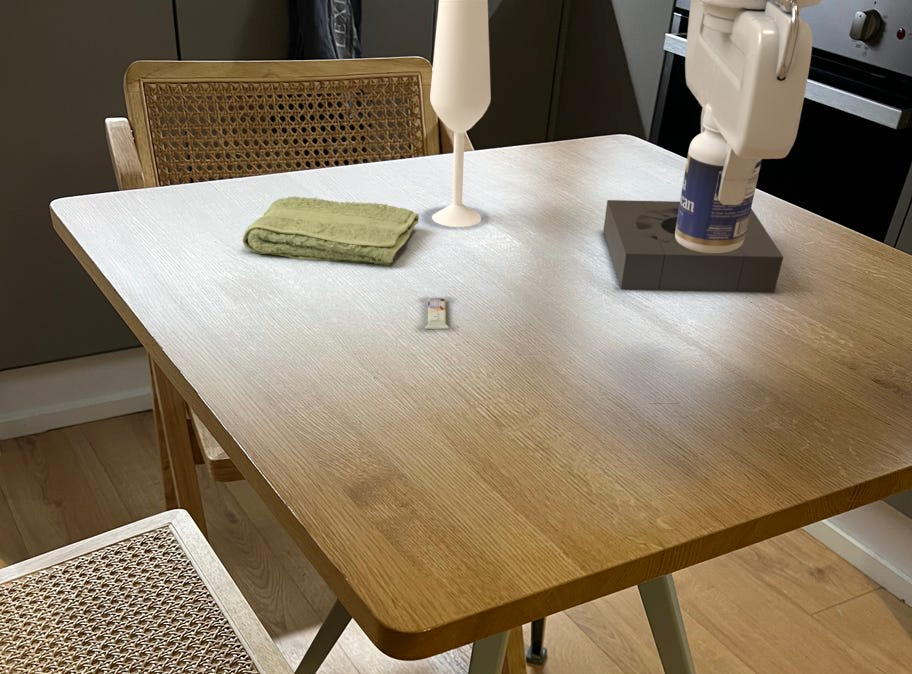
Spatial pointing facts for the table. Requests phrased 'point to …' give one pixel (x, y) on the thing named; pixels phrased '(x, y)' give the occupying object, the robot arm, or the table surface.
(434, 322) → the granola bar
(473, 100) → the champagne flute
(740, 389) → the table surface
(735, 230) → the pill bottle
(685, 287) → the block
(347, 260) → the washcloth
